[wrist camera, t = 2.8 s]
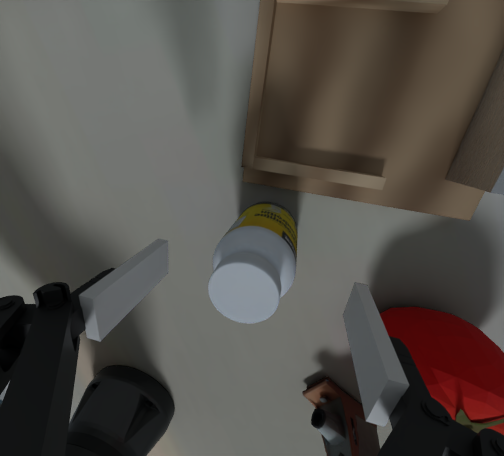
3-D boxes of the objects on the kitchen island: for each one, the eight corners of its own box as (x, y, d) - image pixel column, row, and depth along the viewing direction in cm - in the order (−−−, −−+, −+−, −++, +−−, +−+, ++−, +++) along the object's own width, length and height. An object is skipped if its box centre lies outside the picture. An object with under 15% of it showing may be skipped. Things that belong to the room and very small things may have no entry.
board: (245, 178, 24) (239, 183, 21) (271, -31, 18) (266, -58, 15) (458, 215, 21) (479, 225, 19) (572, -15, 15) (625, -44, 13)
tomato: (394, 269, 24) (454, 352, 15) (502, 327, 24) (631, 447, 15) (332, 336, 29) (348, 433, 19) (424, 385, 29) (484, 506, 19)
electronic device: (325, 371, 31) (332, 439, 24) (376, 412, 32) (397, 489, 25) (301, 385, 33) (301, 451, 26) (350, 423, 34) (363, 497, 27)
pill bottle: (307, 243, 25) (313, 320, 14) (255, 264, 27) (226, 344, 17) (280, 189, 24) (264, 231, 13) (227, 215, 26) (176, 270, 15)
